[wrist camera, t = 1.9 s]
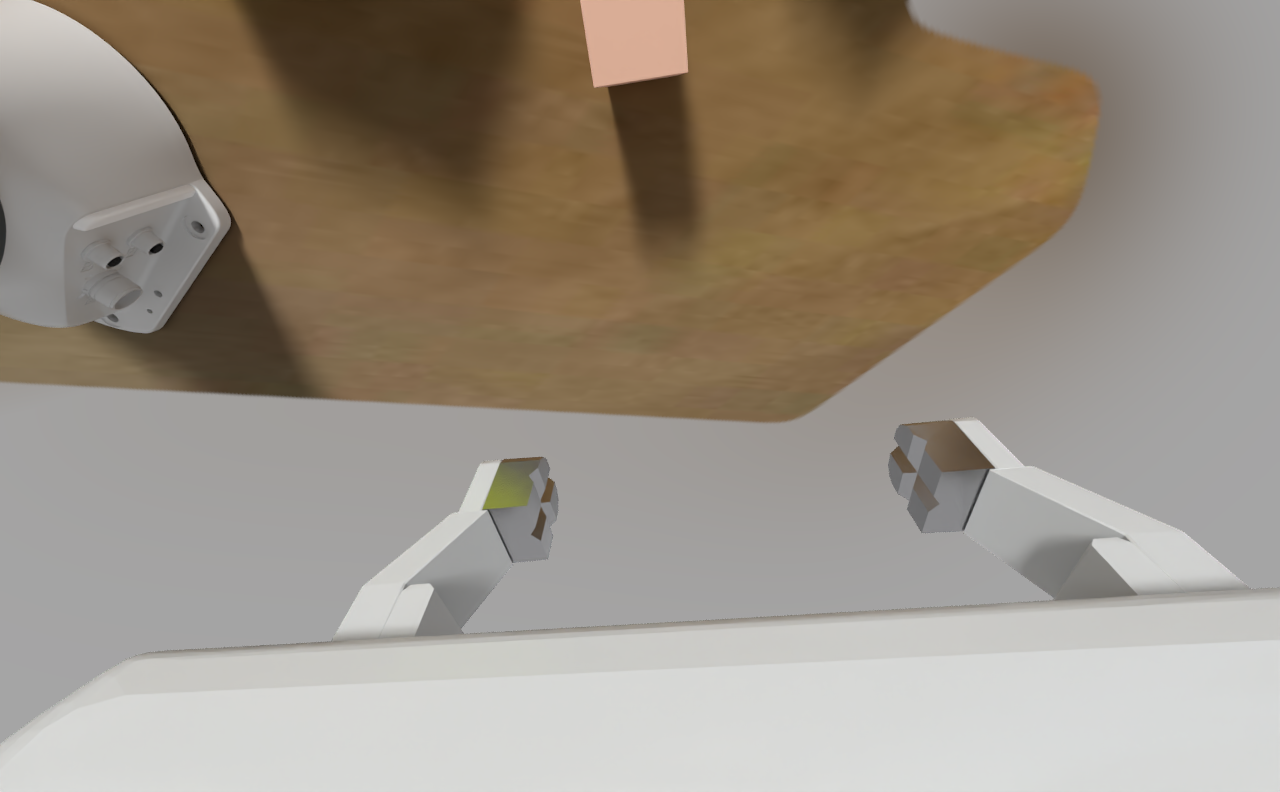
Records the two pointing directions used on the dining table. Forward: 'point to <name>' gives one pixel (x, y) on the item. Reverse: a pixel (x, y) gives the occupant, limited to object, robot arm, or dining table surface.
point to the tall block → (634, 40)
